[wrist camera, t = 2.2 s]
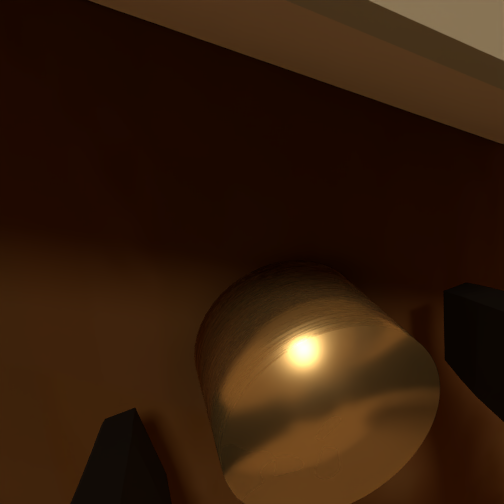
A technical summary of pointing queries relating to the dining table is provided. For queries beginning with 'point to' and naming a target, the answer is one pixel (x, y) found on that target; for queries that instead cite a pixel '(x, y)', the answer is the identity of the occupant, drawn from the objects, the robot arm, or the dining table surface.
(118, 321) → the dining table surface
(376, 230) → the dining table surface
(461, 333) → the robot arm
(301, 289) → the gold rounded piece
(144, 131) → the dining table surface
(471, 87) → the beige square holder
